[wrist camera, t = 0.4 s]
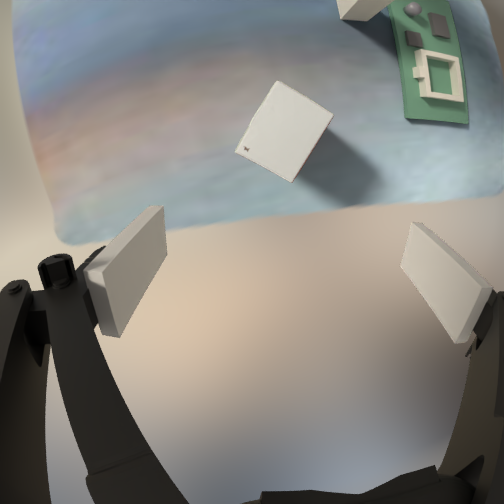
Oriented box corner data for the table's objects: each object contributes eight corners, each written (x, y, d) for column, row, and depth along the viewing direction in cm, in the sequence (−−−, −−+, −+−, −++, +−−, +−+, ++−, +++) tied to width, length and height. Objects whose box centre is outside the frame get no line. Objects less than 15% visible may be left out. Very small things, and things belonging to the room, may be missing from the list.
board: (382, -13, 25) (390, -21, 21) (444, 2, 24) (455, -3, 20) (404, 117, 34) (416, 118, 31) (464, 123, 33) (477, 125, 30)
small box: (282, 164, 38) (291, 185, 27) (241, 141, 37) (231, 152, 26) (312, 115, 35) (336, 114, 24) (270, 91, 34) (275, 78, 22)
